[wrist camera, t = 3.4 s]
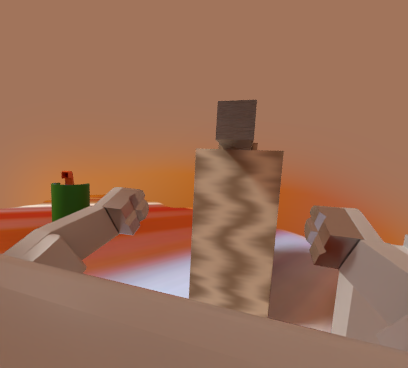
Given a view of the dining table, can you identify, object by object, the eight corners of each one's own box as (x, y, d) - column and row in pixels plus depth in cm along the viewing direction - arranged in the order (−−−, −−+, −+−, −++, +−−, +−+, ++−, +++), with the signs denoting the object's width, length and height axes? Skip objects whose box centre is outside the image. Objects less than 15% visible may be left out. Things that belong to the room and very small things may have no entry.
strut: (215, 139, 16) (217, 101, 16) (232, 158, 41) (233, 143, 41) (253, 139, 15) (256, 99, 15) (247, 158, 40) (248, 144, 40)
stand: (188, 310, 27) (196, 141, 25) (211, 252, 47) (217, 154, 44) (266, 330, 24) (284, 143, 22) (256, 259, 44) (265, 156, 41)
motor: (91, 223, 64) (90, 171, 62) (87, 231, 56) (86, 172, 54) (56, 226, 59) (54, 169, 57) (47, 236, 51) (45, 170, 49)
